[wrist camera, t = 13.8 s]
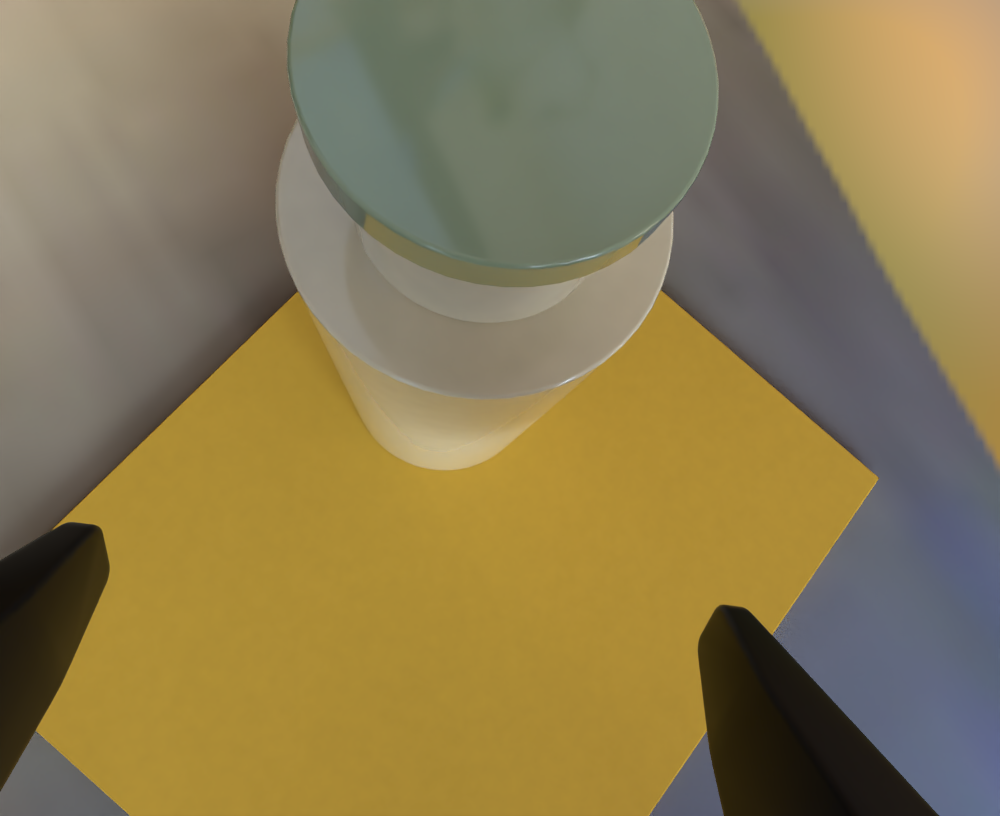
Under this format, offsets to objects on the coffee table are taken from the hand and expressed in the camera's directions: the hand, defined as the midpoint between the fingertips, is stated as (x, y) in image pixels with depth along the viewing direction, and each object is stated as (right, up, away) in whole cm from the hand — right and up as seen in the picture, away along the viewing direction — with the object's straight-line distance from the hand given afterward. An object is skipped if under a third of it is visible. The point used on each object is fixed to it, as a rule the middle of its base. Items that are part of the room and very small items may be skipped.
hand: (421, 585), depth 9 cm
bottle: (0, +3, +8) cm, 9 cm away
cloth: (0, -1, +8) cm, 8 cm away
